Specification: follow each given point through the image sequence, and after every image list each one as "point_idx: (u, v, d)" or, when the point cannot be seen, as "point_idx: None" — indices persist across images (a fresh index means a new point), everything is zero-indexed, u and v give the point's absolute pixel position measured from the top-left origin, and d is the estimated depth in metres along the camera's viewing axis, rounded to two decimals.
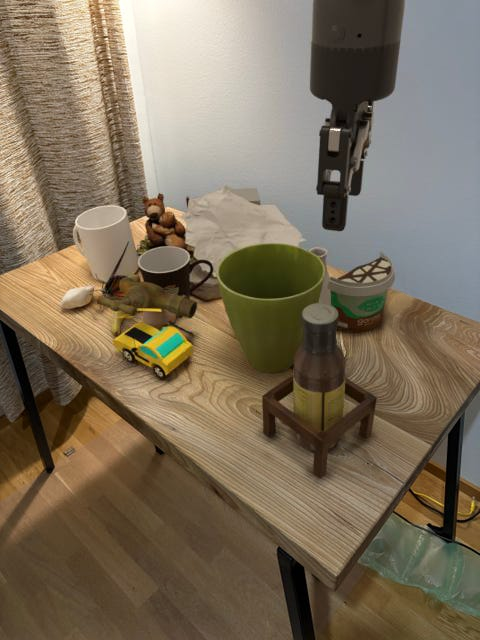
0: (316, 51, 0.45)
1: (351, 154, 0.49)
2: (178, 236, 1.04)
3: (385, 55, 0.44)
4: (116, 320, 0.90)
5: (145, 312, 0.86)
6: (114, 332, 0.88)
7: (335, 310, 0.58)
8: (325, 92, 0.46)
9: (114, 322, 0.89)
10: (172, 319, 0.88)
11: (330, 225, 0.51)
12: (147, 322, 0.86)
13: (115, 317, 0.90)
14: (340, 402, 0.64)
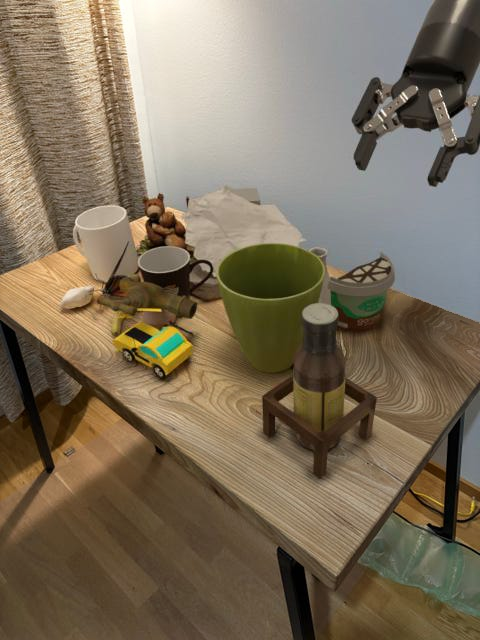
0: None
1: (397, 112, 0.60)
2: (178, 236, 1.04)
3: (423, 32, 0.58)
4: (116, 321, 0.90)
5: (145, 312, 0.86)
6: (114, 332, 0.88)
7: (335, 310, 0.58)
8: None
9: (114, 322, 0.89)
10: (172, 319, 0.88)
11: (355, 160, 0.62)
12: (147, 322, 0.86)
13: (115, 317, 0.90)
14: (340, 402, 0.64)
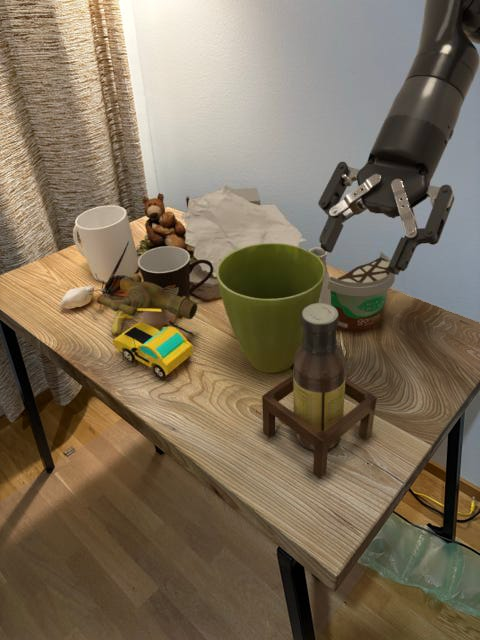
0: None
1: (362, 198, 0.61)
2: (178, 236, 1.04)
3: (387, 122, 0.59)
4: (117, 321, 0.89)
5: (145, 312, 0.86)
6: (114, 333, 0.88)
7: (335, 310, 0.58)
8: None
9: (115, 323, 0.89)
10: (172, 319, 0.88)
11: None
12: (147, 322, 0.86)
13: (116, 318, 0.90)
14: (340, 402, 0.64)
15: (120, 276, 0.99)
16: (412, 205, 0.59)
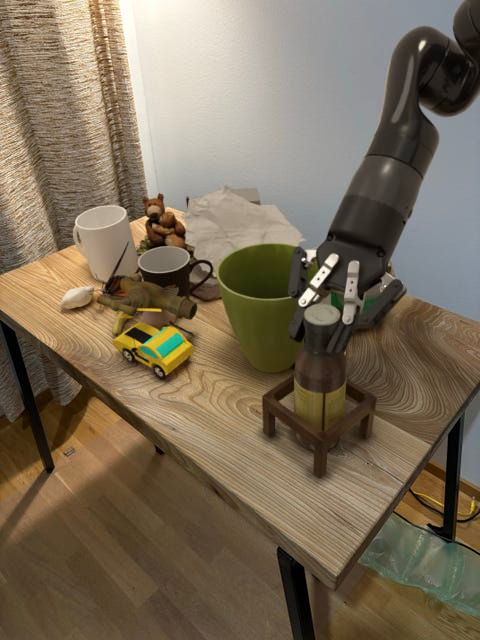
0: None
1: None
2: (178, 236, 1.04)
3: (345, 201, 0.58)
4: (117, 321, 0.89)
5: (145, 312, 0.86)
6: (114, 333, 0.88)
7: (337, 311, 0.58)
8: None
9: (116, 323, 0.89)
10: (172, 320, 0.88)
11: None
12: (147, 322, 0.86)
13: (117, 318, 0.90)
14: (341, 402, 0.64)
15: (120, 276, 0.99)
16: None
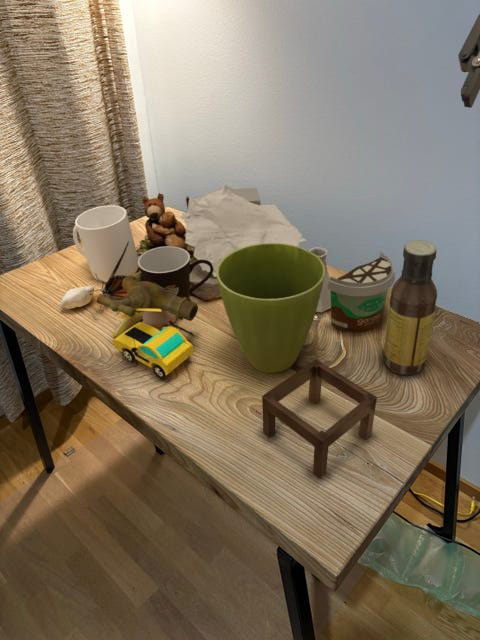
0: None
1: None
2: (178, 236, 1.04)
3: None
4: (121, 325, 0.88)
5: (146, 311, 0.86)
6: (113, 336, 0.87)
7: (433, 245, 0.69)
8: None
9: (119, 326, 0.88)
10: (172, 321, 0.88)
11: (461, 96, 0.61)
12: (147, 321, 0.86)
13: (123, 321, 0.89)
14: (431, 328, 0.74)
15: (120, 276, 0.99)
16: None
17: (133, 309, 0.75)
